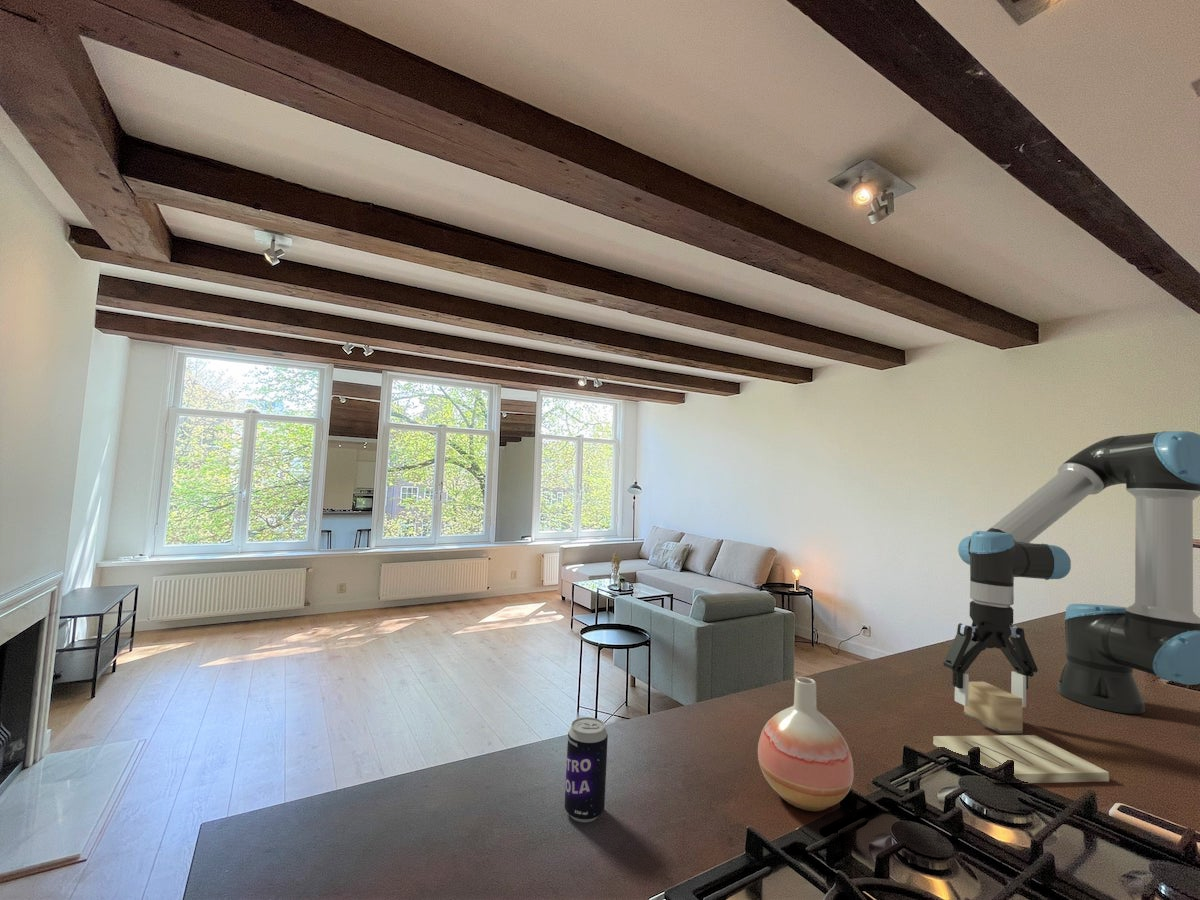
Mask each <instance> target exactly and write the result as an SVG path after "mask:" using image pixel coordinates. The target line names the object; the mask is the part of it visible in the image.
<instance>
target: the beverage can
mask: <svg viewBox="0 0 1200 900" xmlns="http://www.w3.org/2000/svg"><path fill="white" fill-rule="evenodd" d="M608 736H609V734H608V731H607V730H606V723H605V722H604V721H602V720H600V719H598V718H595V717H579V718H576V719H574V720H573V721H572V722H571V727H570V728H569V730H568V733H567V747H566V748H567V749H566V750H567V751H566V766H565V767H566V768H565V769H566V770H565V772H566V773H565V786H564V788H565V789H564V804H563V805H564V810H565V811H566V813H567V814H568V815H569V816H570V817H571V818H572V820H574V821H576V822H579V823H591V822H593V821H595V820H596V819H598V817H599V816H601V814H603V813H604V811H605V804H606V803H605V802H606V785H607V784H606V781H607V762H608V760H607V759H608V758H607V757H608V738H609V737H608Z"/></svg>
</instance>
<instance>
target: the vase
mask: <svg viewBox="0 0 1200 900" xmlns="http://www.w3.org/2000/svg"><path fill="white" fill-rule="evenodd" d="M793 693H794V697H793V705H792V706H789V707H786V708H785V709H782V710H780V711H779V712H776V713H775V714H774V715H773V716H772V717H771V718H770V719H769V720H767V722H766V723H765V725H764V726H763V728H762V730H761V733H760V736H759V738H758V739H759V740H758V743H757V759H758V764H759V768H760V770H761V772H762V774H763V777H764V778H765V780H766V781H767V782H768V785H769V786H770V787H771V788H772V789H773V790H774V791H775V792H776V793H777V794H778V795H779V796H780V797H781V798H782V799H783V801H784V802H786V803H788V804H789V805H791V806H793V807H795V808H797V809H800V810H804V811H808V812H822V811H824V810H827V809H828V808H830V807H833V806H835V805H838V804H839V803H840V802H841V801H842V800H844V799H845V798H846V796H847V795H848V794H849V792H850V790H851V788H852V785H853V783H854V775H855V772H854V763H853V762H854V761H853V757H852V754H851V750H850V748H849V746H848V743H847V742H846V739H845V738H844V736H843V734H842V733H841V732H840V731H839V729H838V728H837V727H836V726H835V725H834V724H833V723H832V721H830V720H829V719H828V718H827V717H826V716H825V715H824V714H822V713H821V712H819V710H818V709H817V682H816V681H815V680H814V679H812V678H810V677H805V676H798V677H795V680H794V691H793Z"/></svg>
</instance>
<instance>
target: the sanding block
mask: <svg viewBox="0 0 1200 900" xmlns="http://www.w3.org/2000/svg"><path fill="white" fill-rule="evenodd" d="M963 714H964V715H966V716H967V715H968V717H969V718H971V719H973V720H975V721H977V722H979V723H980V724H982V725H984V726H986V727H988V728H990V729H992V730H993V731H996V732H997V733H999V734H1000V735H1001V734H1003V735H1004V734H1023V733H1024V732H1023V731H1024V730H1023V729H1024V725H1023V724H1024V723H1023V722H1024V721H1023V719H1024V718H1023V707H1022V698H1020V697H1018V696H1016V695H1013V694H1011V692H1008V691H1006V690H1004V689H1002V688H1000V687H997V686H995V685H993V684H990V683H988V682H986V681H969V694H968V706H964V705H963Z"/></svg>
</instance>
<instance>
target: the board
mask: <svg viewBox="0 0 1200 900" xmlns="http://www.w3.org/2000/svg"><path fill="white" fill-rule="evenodd" d="M932 741H933V742H932V743H933V745H934V746H935V747H936V748H938V747H945V748H947V749H949V750H951V751H953V752H956V753H959V754H962V755H968V751H969V750H970V749H971V748H973V747H979V748H980V764H981V765H983V766H986V767H988V768H995V767H998V766H999V765H1002V764H1003V763H1004V762H1006V761H1007V760H1013V761H1014V774H1013V775H1014V777H1015V778H1016V779H1019V780H1021V781H1024V782H1028V783H1027V784H1047V783H1048V784H1050V783H1052V784H1053V783H1056V784H1057V783H1093V782H1095V783H1096V782H1097V783H1098V782H1110V772H1109V771H1107V770H1105V769H1103V768H1101V767H1100V766H1097V765H1096V764H1094V763H1091V762H1089V761H1088V760H1085V759H1083V758H1082V757H1079V756H1077V755H1076V754H1073V753H1072V752H1069V750H1068V751H1067V750H1066V749H1064V748H1062V747H1059V746H1058V745H1056V744H1054V743H1052V742H1050V741H1048V740H1045V738H1042V737H1040V736H1038V735H1036V734H1021V735H1019V734H1016V735H1015V734H1013V735H1012V734H1011V735H1009V734H1008V735H1007V734H1006V735H1004V734H1003V735H1001V734H1000V735H934V736H933V740H932Z"/></svg>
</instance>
